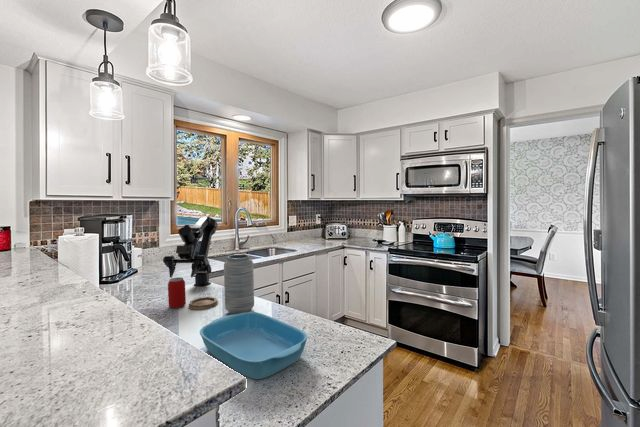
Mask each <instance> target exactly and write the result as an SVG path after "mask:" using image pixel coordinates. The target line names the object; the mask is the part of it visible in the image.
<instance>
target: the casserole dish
mask: <svg viewBox="0 0 640 427" xmlns="http://www.w3.org/2000/svg"><path fill="white" fill-rule="evenodd" d="M199 335H200V336H201V339H202V341H203V342H202V343H204V346H205V348H206V349H207V351H208V352H209V354H211V355H213V357H215V358H217V359H218V360H219V361H221V362H223V363H224V364H226V365H227V366H228V367H230V368H232V370H234V371H235V372H238V373H239V374H241V375H243V376H244V377H248V378H250V379H251V380H252V379H253V380H261V379H262V380H263V379H265V378H266V379H267V378H268V377H270V376H273V375H275V374H276V373H278V372H280V371H282V370H284V369H286V368H288V367H289V366H291V365H293V364H294V363H296V362H297V361H298V360H299V359H300V358H301V357H302V354H303V352H304V349H305V346H306V343H307V340H308V336H307V334H306V332H304V331H303V330H302V329H300V328H297V327H295V326H293V325H290V324H289V323H286V322H285V321H284V322H283V321H281V320H279V319H277V318H273V317H272V316H269V315H266V314H265V313H260V312H255V311H250V312H245V313H240V314H234V315H231V314H229V315H224V316H222V317H219V318H215V319H213V320H212V321H211V322H209V323H207V324H206V325H204V326H202V327H201V328H200V330H199Z"/></svg>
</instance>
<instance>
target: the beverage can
mask: <svg viewBox="0 0 640 427" xmlns="http://www.w3.org/2000/svg"><path fill="white" fill-rule="evenodd" d="M167 292H168V293H167V294H168V295H167V296H168V307H169V308H171V309H180V308H183V307H184V306H185V305H186V303H187V302H186V299H187V298H186V281H185V279H184V278H183V277H172V278H170V279H169V281H168V283H167Z"/></svg>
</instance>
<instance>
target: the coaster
mask: <svg viewBox="0 0 640 427" xmlns="http://www.w3.org/2000/svg"><path fill="white" fill-rule="evenodd" d="M188 303H189V304H188V308H189V309H191V310H193V311H194V310H195V311H197V310H198V311H199V310H200V311H201V310H207V309H212V308H215V307H217V305H218V304H219V301H218V299H217V297H213V296H203V297H197V298H194V299H192V300H190V301H189V302H188ZM211 307H212V308H211Z"/></svg>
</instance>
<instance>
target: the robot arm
mask: <svg viewBox="0 0 640 427" xmlns="http://www.w3.org/2000/svg"><path fill="white" fill-rule="evenodd" d="M217 229H218V222H217V220H216V219H214V218H211V216H209V215H204V216H203V215H202V216H200V217H199V220H197V222H195V224H194V225H190V224H184V226H182V227H180V228H179V229H178V230H177V231H178V234H179V237H180V238H181V241H182V242H183V243H184V244H183V245H176V248H175V249H176V250H175V254H178V255H177V256H178V258H175V256H174V255H165V256H164V257H163V259H162V262H163V264H164V265H165V266H166V268H168V270H169V271H168V272H169V274H168V275H169V278H170V279H172V278H173V276H174V273H175V271H176V266H177V264H191V266H190V268H191V273H190V277H191V278H193V277H194V276H195V277H194V279H195V280H194V284H193V286H197V287H205V286H208V285H210V284H212V282H210V279H209V278H210V274H212V266H211V264H210V261H209V258H208V254H209V251H210V246H211V242H212V236H213V235H214V234H216V232H217ZM198 239H201V241H200V246H199V241H198ZM198 246H199V251H198V254H197V255H196V251H197V247H198Z"/></svg>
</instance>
